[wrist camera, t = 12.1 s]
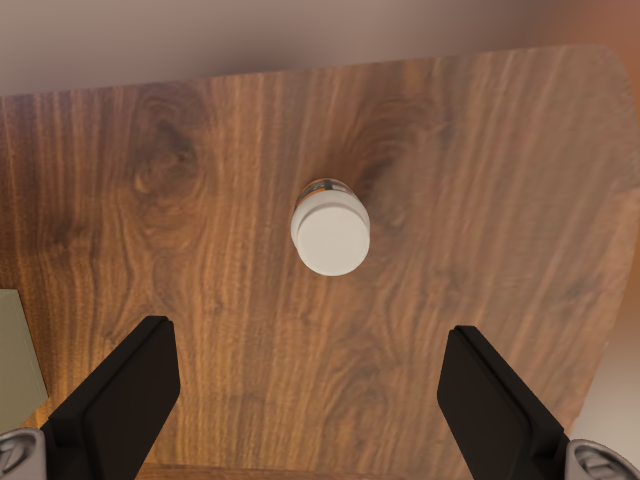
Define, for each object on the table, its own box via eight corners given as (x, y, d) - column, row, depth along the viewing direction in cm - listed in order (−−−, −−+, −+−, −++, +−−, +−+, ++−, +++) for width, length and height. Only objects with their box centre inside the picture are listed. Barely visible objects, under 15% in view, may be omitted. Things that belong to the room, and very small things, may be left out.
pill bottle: (310, 167, 28) (308, 181, 18) (367, 192, 28) (394, 218, 19) (286, 224, 29) (274, 264, 20) (341, 246, 30) (354, 295, 20)
